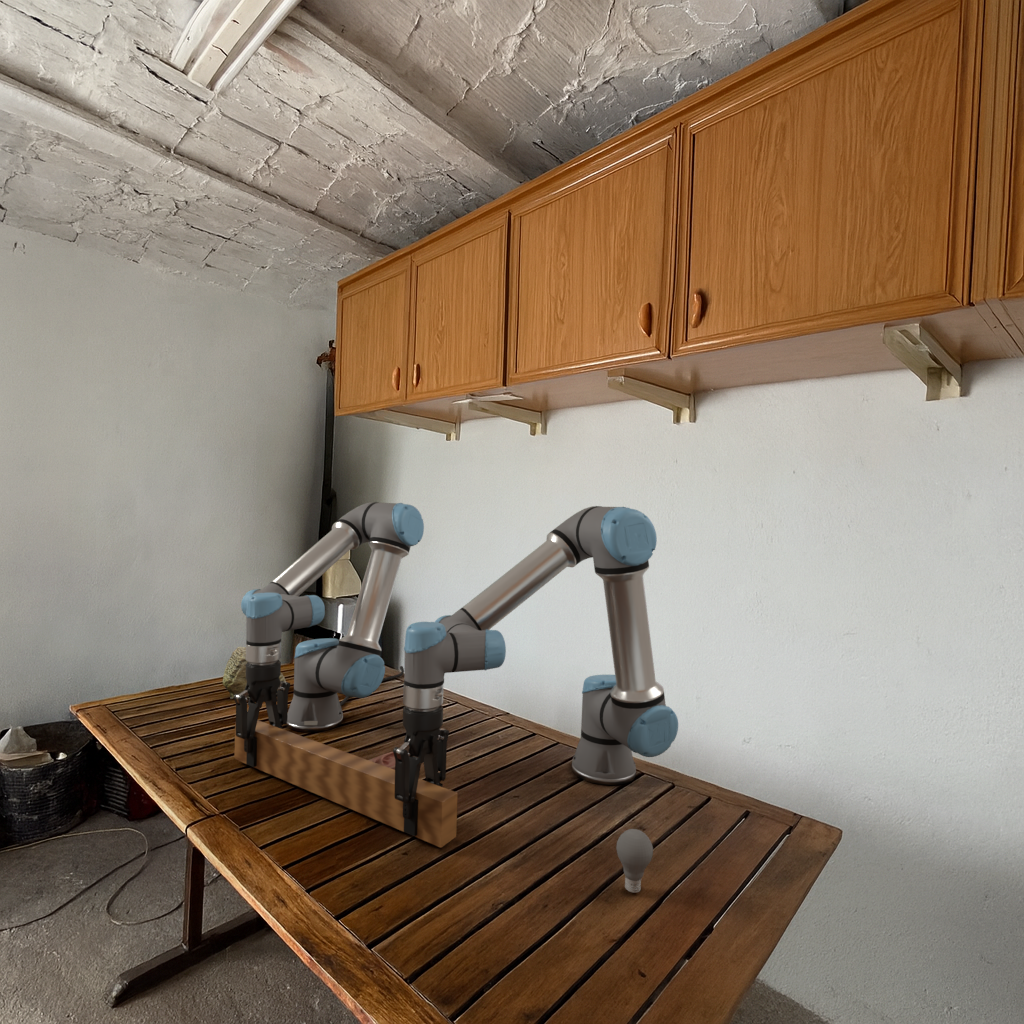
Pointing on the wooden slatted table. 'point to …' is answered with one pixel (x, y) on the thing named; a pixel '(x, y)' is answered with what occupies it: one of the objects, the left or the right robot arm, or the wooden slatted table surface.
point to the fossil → (237, 673)
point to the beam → (351, 782)
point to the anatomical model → (385, 760)
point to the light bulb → (634, 857)
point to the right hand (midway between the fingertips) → (419, 826)
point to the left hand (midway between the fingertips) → (261, 760)
